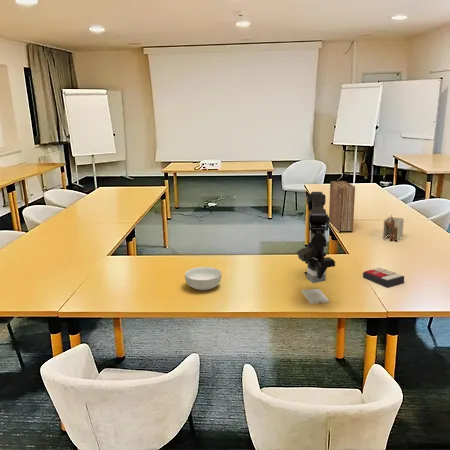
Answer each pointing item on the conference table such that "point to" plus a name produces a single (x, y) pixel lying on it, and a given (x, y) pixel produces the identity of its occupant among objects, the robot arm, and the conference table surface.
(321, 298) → the hard drive
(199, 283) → the cereal bowl
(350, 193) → the brown wooden block
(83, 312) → the conference table surface
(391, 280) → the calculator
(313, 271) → the box
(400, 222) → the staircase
